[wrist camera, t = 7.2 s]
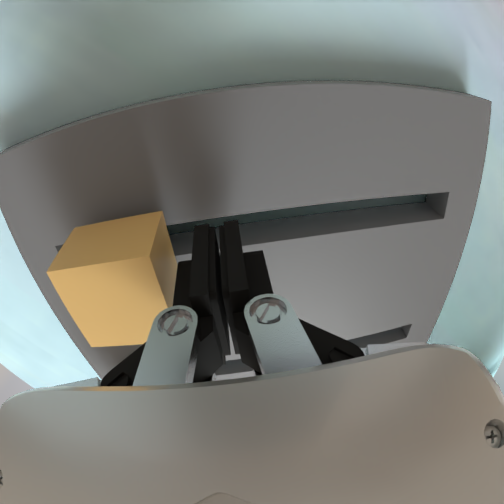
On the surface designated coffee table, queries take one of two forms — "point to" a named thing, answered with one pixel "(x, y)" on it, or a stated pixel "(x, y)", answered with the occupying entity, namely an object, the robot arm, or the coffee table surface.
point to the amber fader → (116, 278)
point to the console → (273, 194)
